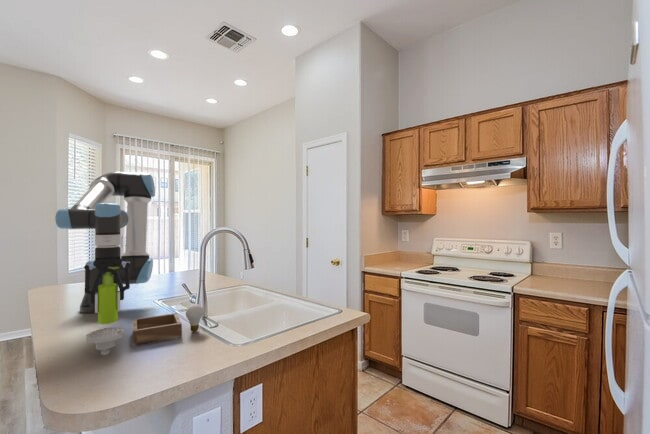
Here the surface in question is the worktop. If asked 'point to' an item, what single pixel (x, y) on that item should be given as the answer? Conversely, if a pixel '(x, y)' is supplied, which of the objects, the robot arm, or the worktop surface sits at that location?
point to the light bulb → (194, 316)
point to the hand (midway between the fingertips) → (107, 310)
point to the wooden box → (156, 329)
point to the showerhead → (105, 338)
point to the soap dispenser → (108, 299)
